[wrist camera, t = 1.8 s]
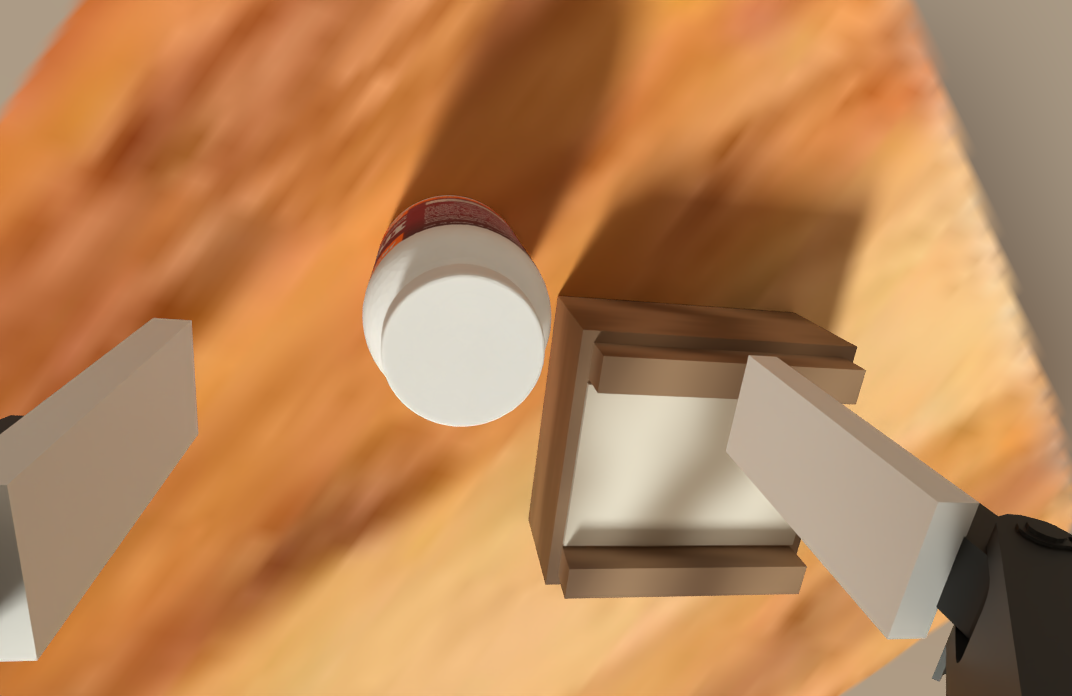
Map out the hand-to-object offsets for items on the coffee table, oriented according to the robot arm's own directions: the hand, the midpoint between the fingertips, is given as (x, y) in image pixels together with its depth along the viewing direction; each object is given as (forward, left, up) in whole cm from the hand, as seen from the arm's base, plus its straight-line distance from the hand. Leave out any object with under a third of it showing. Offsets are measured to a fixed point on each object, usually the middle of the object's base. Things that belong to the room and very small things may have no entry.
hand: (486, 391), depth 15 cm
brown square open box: (+11, -7, -14) cm, 19 cm away
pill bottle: (0, 0, -14) cm, 14 cm away
